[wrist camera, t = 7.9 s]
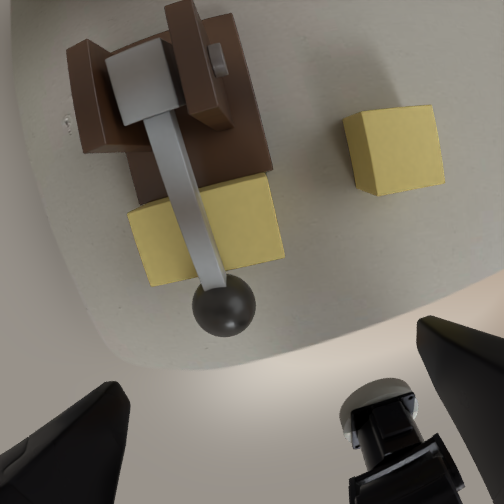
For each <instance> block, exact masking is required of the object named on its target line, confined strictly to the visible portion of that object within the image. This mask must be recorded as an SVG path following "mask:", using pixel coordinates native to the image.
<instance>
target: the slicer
mask: <svg viewBox="0 0 504 504" xmlns="http://www.w3.org/2000/svg"><path fill="white" fill-rule="evenodd" d="M164 9H165V14H166V19H167V23H168V28H169V30H168V31H165V32H162V33H159V34H156V35H153V36H151V37H148V38H145V39H143V40H140V41H137V42H135V43H132V44H130V45H128V46H125V47H123V48H120V49H118V50H116V51H114V52H111V53H110V52H108V51H107V50H105V49H104V48H102V47H100V46H99V45H97V44H95V43H94V42H92V41H90V40H89V39H85V40H83V41H81V42H80V43H78V44H76V45H74V46H72V47H70V48H68V49H67V50H66V54H67V63H68V71H69V78H70V85H71V92H72V98H73V104H74V110H75V115H76V120H77V125H78V130H79V135H80V140H81V145H82V149H83V153H84V154H87V153H115V152H126V155H127V159H128V163H129V167H130V171H131V175H132V179H133V182H134V186H135V190H136V193H137V197H138V200H139V204H140V205H142V204H146V203H149V202H152V201H156V200H159V199H163V198H166V197H168V194H167V191H166V188H165V185H164V182H163V180H162V177H161V174H160V171H159V168H158V165H157V162H156V159H155V156H154V153H153V150H152V147H151V144H150V140H149V137H148V134H147V131H146V128H145V125H144V121H143V120H144V119H143V120H140V121H138V122H135V123H132V124H130V125H127V126H124V124H123V121H122V118H121V114H120V111H119V108H118V105H117V101H116V98H115V95H114V91H113V88H112V84H111V81H110V77H109V74H108V70H107V66H106V63H105V59H107V58H109V57H111V56H113V55H116V54H118V53H120V52H123V51H125V50H127V49H130V48H132V47H135V46H137V45H140V44H142V43H145V42H148V41H150V40H153V39H156V38H161V39H163V40H165V41H167V42H168V43H170V44H172V45H173V50H174V54H175V59H176V63H177V67H178V71H179V76H180V80H181V84H182V88H183V93H184V97H185V101H186V105H184V106H181V107H179V108H176V109H174V111H175V114H176V117H177V121H178V124H179V128H180V131H181V134H182V138H183V141H184V144H185V147H186V151H187V154H188V157H189V161H190V164H191V167H192V170H193V173H194V177H195V180H196V183H197V186H198V188H202V187H206V186H210V185H214V184H217V183H221V182H225V181H229V180H233V179H237V178H242V177H246V176H250V175H254V174H258V173H263V172H267V171H272V170H273V166H272V162H271V158H270V154H269V149H268V145H267V141H266V137H265V133H264V129H263V125H262V121H261V117H260V113H259V109H258V105H257V102H256V98H255V94H254V90H253V86H252V82H251V79H250V75H249V71H248V68H247V64H246V60H245V57H244V53H243V49H242V46H241V42H240V39H239V35H238V32H237V28H236V25H235V21H234V18H233V15H232V13H229V14H224V15H220V16H216V17H212V18H208V19H204V20H201V19H200V16H199V14H198V12H197V9H196V7H195V5H194V2H193V0H182V1H179V2H176V3H173V4H170V5H167V6H165V7H164Z"/></svg>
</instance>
